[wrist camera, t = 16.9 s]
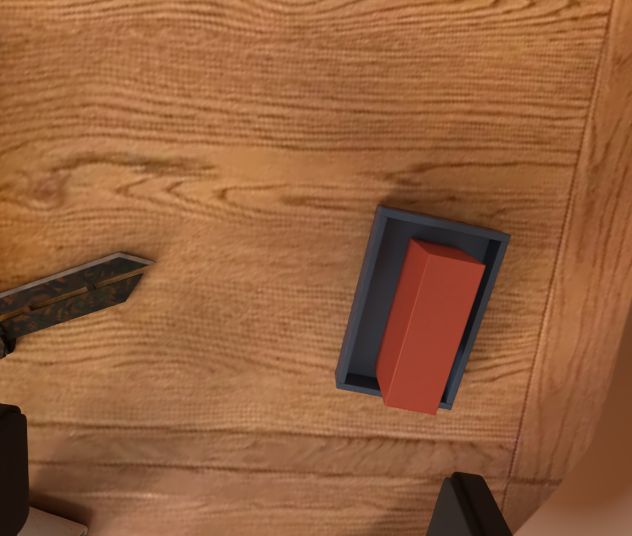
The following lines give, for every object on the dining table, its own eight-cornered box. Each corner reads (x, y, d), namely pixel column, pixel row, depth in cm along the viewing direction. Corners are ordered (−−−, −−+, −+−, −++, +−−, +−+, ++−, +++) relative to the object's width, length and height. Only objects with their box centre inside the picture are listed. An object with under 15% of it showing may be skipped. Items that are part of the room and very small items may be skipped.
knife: (152, 243, 33) (145, 247, 32) (176, 314, 35) (171, 320, 34) (-122, 309, 35) (-140, 315, 34) (-86, 374, 37) (-102, 382, 35)
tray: (377, 204, 32) (382, 207, 30) (497, 230, 33) (511, 235, 31) (334, 373, 36) (336, 388, 34) (442, 394, 37) (451, 410, 35)
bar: (373, 366, 36) (384, 406, 30) (409, 236, 33) (429, 253, 27) (416, 374, 36) (435, 415, 30) (456, 246, 33) (486, 265, 27)
